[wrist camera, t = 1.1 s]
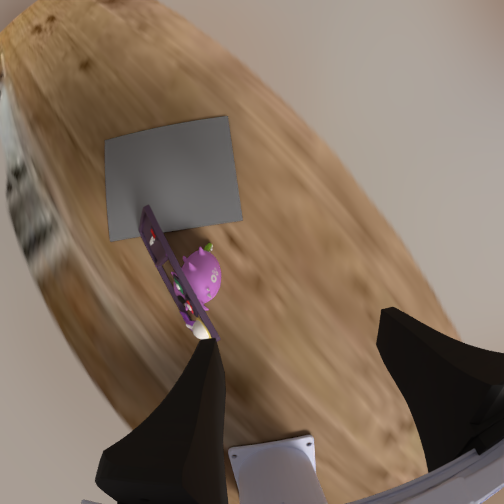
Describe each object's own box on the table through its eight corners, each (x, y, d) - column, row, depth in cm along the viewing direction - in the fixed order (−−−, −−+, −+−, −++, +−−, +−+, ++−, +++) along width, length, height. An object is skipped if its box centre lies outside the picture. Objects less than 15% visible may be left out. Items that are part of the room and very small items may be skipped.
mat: (242, 220, 23) (242, 220, 23) (111, 241, 22) (110, 241, 22) (227, 117, 23) (227, 115, 23) (106, 141, 22) (104, 140, 22)
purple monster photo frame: (131, 211, 16) (205, 349, 16) (208, 177, 18) (274, 304, 19) (130, 234, 22) (184, 335, 22) (186, 207, 24) (236, 303, 25)
